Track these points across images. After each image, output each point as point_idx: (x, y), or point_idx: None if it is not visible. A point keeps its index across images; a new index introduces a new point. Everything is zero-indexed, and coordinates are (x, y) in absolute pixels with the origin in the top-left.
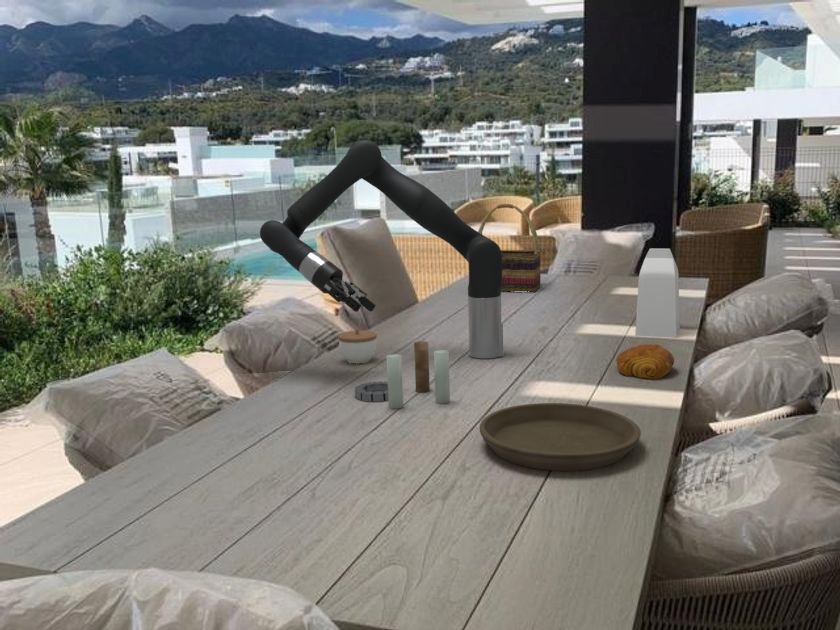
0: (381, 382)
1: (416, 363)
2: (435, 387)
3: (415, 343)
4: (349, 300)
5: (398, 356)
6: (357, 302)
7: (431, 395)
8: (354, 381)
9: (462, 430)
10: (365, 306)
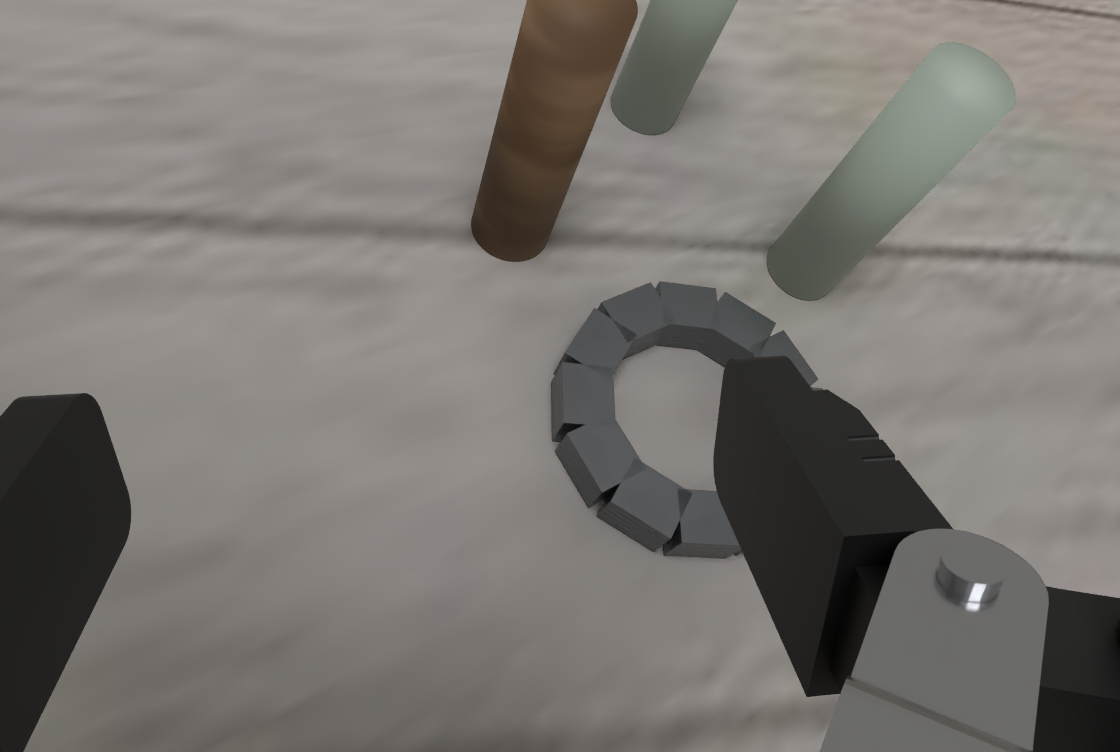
0: (592, 428)
1: (590, 131)
2: (696, 74)
3: (619, 26)
4: (933, 524)
5: (962, 54)
6: (798, 391)
7: None
8: (463, 738)
9: (892, 2)
10: (70, 619)
